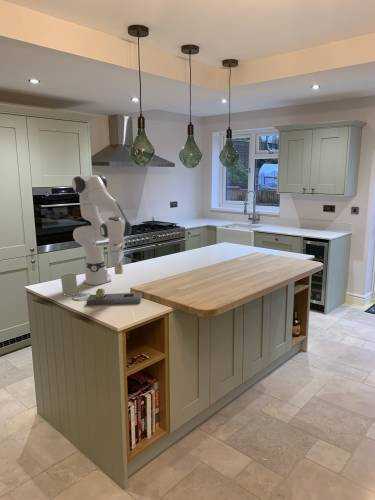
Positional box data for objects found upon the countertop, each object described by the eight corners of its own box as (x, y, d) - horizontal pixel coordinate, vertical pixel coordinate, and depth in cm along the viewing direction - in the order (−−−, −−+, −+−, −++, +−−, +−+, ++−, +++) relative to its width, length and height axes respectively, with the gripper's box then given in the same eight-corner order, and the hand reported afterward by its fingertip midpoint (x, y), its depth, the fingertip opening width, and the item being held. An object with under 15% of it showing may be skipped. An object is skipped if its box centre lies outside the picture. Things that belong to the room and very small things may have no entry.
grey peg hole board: (91, 299, 227) (90, 294, 226) (142, 297, 227) (141, 292, 226) (87, 305, 217) (86, 300, 216) (140, 303, 217) (139, 297, 217)
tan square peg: (98, 301, 224) (97, 288, 222) (105, 300, 224) (104, 288, 222) (97, 303, 220) (95, 290, 218) (104, 303, 220) (102, 290, 218)
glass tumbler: (74, 290, 247) (72, 272, 244) (80, 293, 240) (78, 274, 237) (60, 293, 241) (58, 275, 238) (66, 296, 234) (64, 277, 231)
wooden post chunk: (116, 272, 228) (115, 260, 226) (123, 272, 228) (122, 259, 226) (115, 274, 224) (114, 261, 222) (121, 274, 224) (120, 261, 222)
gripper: (114, 242, 232) (116, 264, 235) (108, 248, 212) (110, 273, 215) (125, 241, 233) (126, 264, 235) (119, 248, 212) (121, 272, 215)
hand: (119, 268), depth 225 cm, fingers closed on wooden post chunk, 4 cm apart
